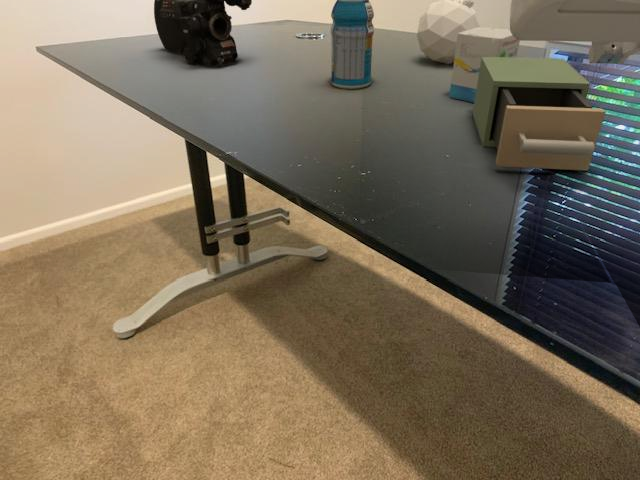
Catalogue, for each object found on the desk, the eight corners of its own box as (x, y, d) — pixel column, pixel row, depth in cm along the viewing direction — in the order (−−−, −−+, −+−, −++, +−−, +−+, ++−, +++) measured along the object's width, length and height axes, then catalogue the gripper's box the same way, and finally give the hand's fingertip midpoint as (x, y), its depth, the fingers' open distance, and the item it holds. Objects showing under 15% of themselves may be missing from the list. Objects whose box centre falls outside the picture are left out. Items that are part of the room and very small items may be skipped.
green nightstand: (572, 150, 73) (590, 83, 68) (482, 146, 75) (493, 80, 70) (549, 117, 85) (563, 58, 80) (472, 114, 87) (481, 56, 82)
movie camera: (271, 57, 122) (261, -25, 112) (208, 74, 112) (191, -13, 103) (203, 44, 142) (189, -26, 132) (144, 58, 132) (125, -17, 123)
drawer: (598, 185, 61) (618, 123, 57) (501, 180, 63) (513, 119, 59) (562, 133, 76) (575, 81, 72) (484, 130, 78) (492, 79, 73)
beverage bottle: (341, 92, 99) (343, -22, 88) (323, 81, 106) (322, -26, 95) (379, 86, 102) (384, -25, 91) (359, 76, 108) (362, -28, 98)
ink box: (489, 106, 90) (501, 37, 84) (447, 97, 95) (455, 32, 89) (510, 95, 96) (523, 30, 89) (469, 87, 101) (479, 25, 94)
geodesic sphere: (498, 31, 119) (468, -24, 115) (493, 43, 107) (459, -17, 104) (443, 67, 127) (412, 17, 124) (432, 82, 116) (399, 27, 112)
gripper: (857, -100, 34) (721, 29, 47) (539, -94, 37) (496, 26, 50) (869, -19, 33) (726, 90, 46) (538, -20, 35) (494, 84, 49)
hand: (604, 57), depth 48 cm, fingers closed
